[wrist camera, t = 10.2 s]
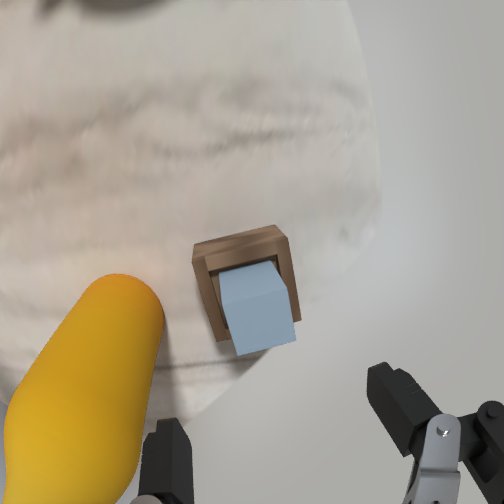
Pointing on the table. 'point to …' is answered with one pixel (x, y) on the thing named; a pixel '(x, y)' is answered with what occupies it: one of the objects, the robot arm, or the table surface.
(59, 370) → the beer bottle
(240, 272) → the lid block
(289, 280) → the walnut base
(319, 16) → the table surface
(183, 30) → the table surface
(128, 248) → the table surface
